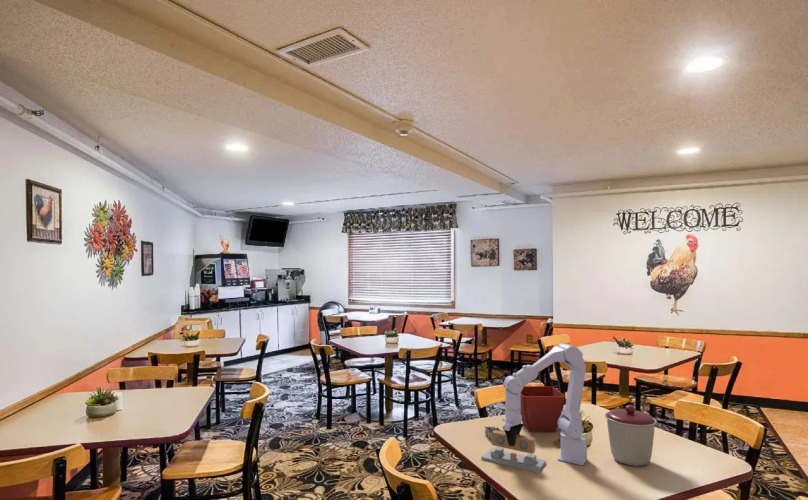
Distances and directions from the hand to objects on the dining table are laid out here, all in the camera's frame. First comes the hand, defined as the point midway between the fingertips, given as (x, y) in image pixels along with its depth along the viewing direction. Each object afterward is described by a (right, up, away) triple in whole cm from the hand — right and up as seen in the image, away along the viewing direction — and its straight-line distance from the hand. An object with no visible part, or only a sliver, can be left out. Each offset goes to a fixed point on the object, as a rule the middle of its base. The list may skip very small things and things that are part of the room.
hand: (513, 444), depth 179 cm
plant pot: (+21, -8, +38) cm, 45 cm away
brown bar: (0, -2, 0) cm, 2 cm away
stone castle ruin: (-2, -8, +25) cm, 27 cm away
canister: (+45, -7, +1) cm, 46 cm away
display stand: (0, -6, 0) cm, 6 cm away
